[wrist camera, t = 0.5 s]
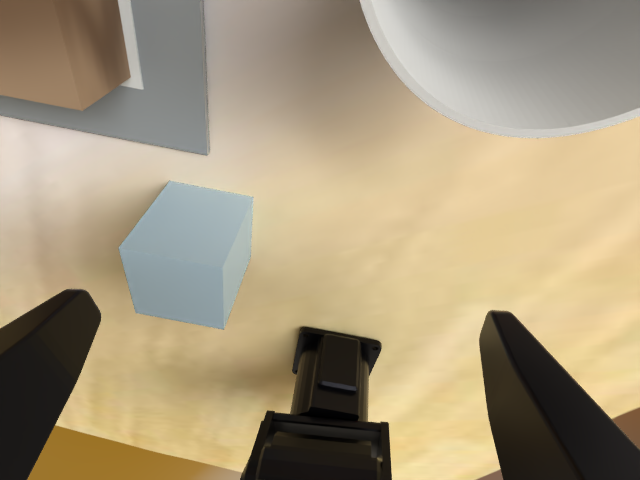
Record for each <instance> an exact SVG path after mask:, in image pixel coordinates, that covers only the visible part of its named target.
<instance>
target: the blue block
mask: <svg viewBox="0 0 640 480" xmlns="http://www.w3.org/2000/svg"><path fill="white" fill-rule="evenodd" d="M252 216H253V197H251V196H246V195H240V194H235V193H230V192H225V191H220V190H214V189H209V188H204V187H199V186H194V185H188V184H183V183H178V182H173V181H169V182H168V184H167V185H166V186H165V188H164V189H163V190H162V192H161V193H160V194H159V196H158V197H157V198H156V199H155V201H154V202H153V203H152V205H151V206H150V207H149V209H148V210H147V211H146V213H145V214H144V215H143V216H142V218H141V219H140V220H139V222H138V223H137V224H136V226H135V227H134V228H133V230H132V231H131V232H130V233H129V235H128V236H127V237H126V239H125V240H124V241H123V243H122V244H121V245H120V247H119V252H120V256H121V260H122V263H123V267H124V271H125V275H126V278H127V282H128V286H129V290H130V294H131V297H132V301H133V305H134V309H135V312H136V313H139V314H144V315H149V316H155V317H160V318H165V319H170V320H176V321H181V322H186V323H192V324H197V325H202V326H207V327H213V328H218V329H223V330H224V328H225V325H226V323H227V320H228V317H229V315H230V312H231V309H232V306H233V304H234V301H235V298H236V295H237V293H238V290H239V287H240V285H241V282H242V279H243V276H244V274H245V271H246V268H247V266H248V263H249V260H250V257H251V238H252Z"/></svg>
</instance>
